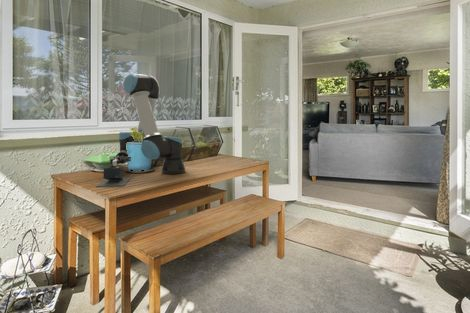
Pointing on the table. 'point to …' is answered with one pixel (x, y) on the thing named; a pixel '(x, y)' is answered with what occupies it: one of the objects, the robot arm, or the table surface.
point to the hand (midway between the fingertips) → (113, 163)
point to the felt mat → (114, 182)
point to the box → (113, 174)
